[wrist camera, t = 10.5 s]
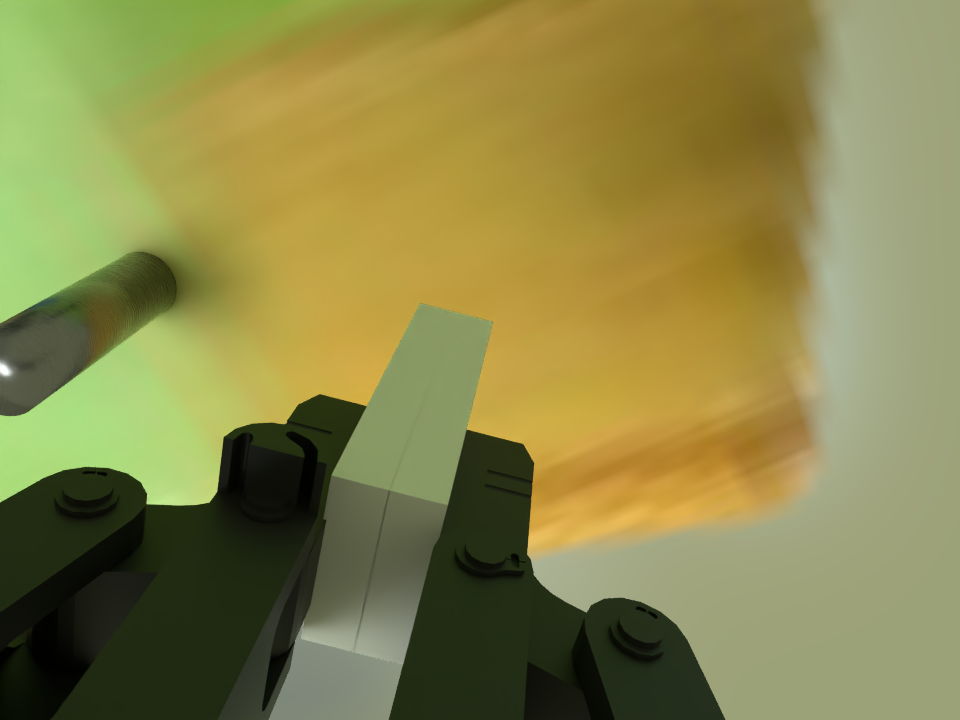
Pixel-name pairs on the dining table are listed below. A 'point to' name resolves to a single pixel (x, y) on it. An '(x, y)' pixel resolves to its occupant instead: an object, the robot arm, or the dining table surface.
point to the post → (78, 328)
